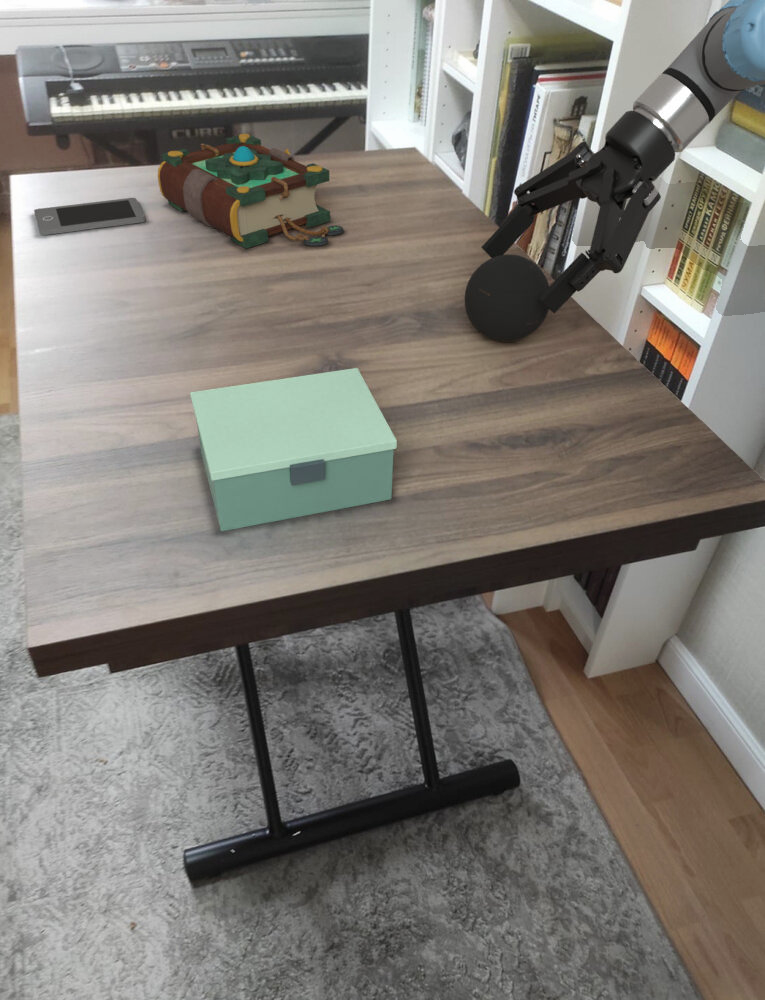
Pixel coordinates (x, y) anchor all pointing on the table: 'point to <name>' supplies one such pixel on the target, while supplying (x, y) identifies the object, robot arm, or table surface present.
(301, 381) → the box
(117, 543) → the table surface
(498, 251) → the robot arm
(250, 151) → the book
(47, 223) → the smartphone
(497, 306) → the speaker
